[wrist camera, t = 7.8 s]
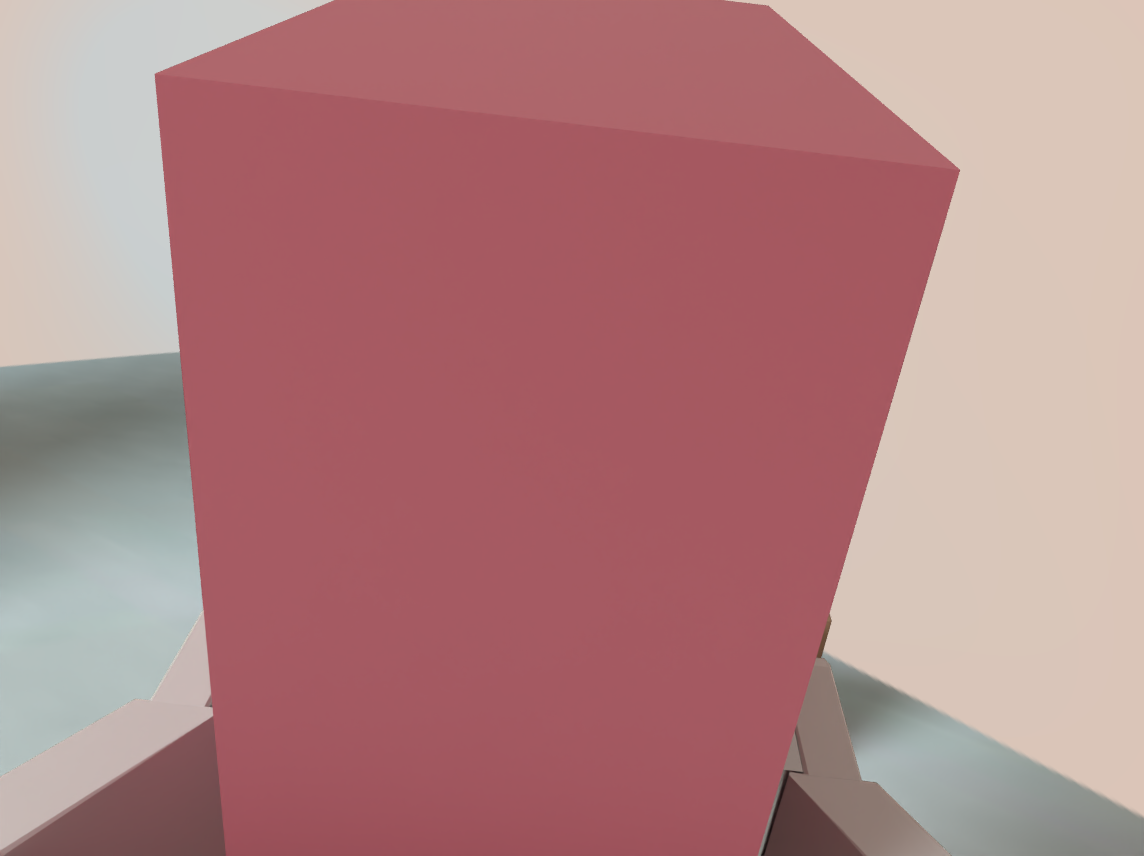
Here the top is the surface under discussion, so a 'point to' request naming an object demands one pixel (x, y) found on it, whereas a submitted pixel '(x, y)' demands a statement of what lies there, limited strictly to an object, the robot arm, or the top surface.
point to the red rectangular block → (529, 411)
